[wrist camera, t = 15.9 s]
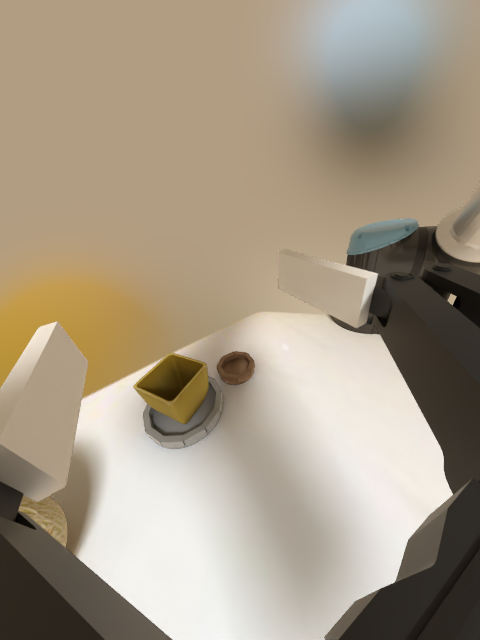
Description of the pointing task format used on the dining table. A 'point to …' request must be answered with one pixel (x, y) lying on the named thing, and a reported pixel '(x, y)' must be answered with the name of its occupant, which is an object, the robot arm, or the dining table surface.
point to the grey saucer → (196, 429)
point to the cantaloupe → (47, 516)
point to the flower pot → (175, 387)
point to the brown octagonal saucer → (236, 367)
